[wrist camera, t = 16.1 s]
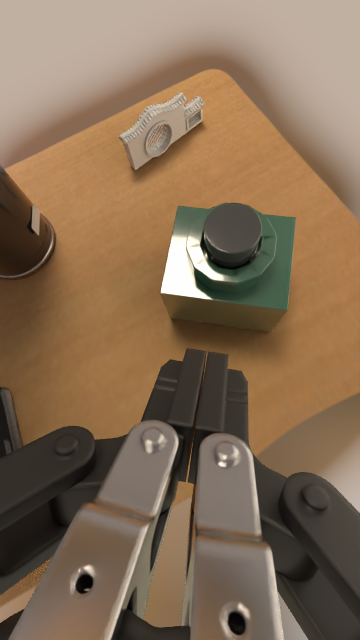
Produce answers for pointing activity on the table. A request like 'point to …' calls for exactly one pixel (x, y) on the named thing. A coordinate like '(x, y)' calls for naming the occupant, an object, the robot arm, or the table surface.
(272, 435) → the table surface
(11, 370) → the table surface
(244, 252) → the dark push button
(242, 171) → the table surface
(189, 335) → the table surface
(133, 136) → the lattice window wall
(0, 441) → the phone
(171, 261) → the dispenser
